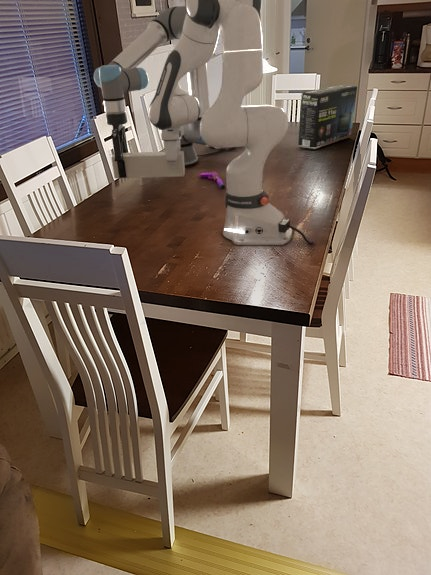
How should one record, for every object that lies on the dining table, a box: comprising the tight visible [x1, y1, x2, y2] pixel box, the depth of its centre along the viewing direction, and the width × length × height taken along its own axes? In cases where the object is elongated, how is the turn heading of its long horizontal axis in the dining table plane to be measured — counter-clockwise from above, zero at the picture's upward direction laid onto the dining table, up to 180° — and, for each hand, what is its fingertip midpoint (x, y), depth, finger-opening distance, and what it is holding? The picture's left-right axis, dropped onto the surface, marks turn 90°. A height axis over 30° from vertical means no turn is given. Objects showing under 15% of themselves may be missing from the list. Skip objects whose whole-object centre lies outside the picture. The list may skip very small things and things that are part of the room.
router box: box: [297, 84, 358, 151], centre depth 238 cm, size 36×11×27 cm, turn 134°
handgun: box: [199, 171, 226, 190], centre depth 194 cm, size 21×8×2 cm, turn 11°
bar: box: [111, 151, 186, 179], centre depth 176 cm, size 27×5×8 cm, turn 89°
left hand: (124, 174), depth 179 cm, fingers closed on bar, 5 cm apart
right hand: (175, 167), depth 177 cm, fingers closed on bar, 5 cm apart
